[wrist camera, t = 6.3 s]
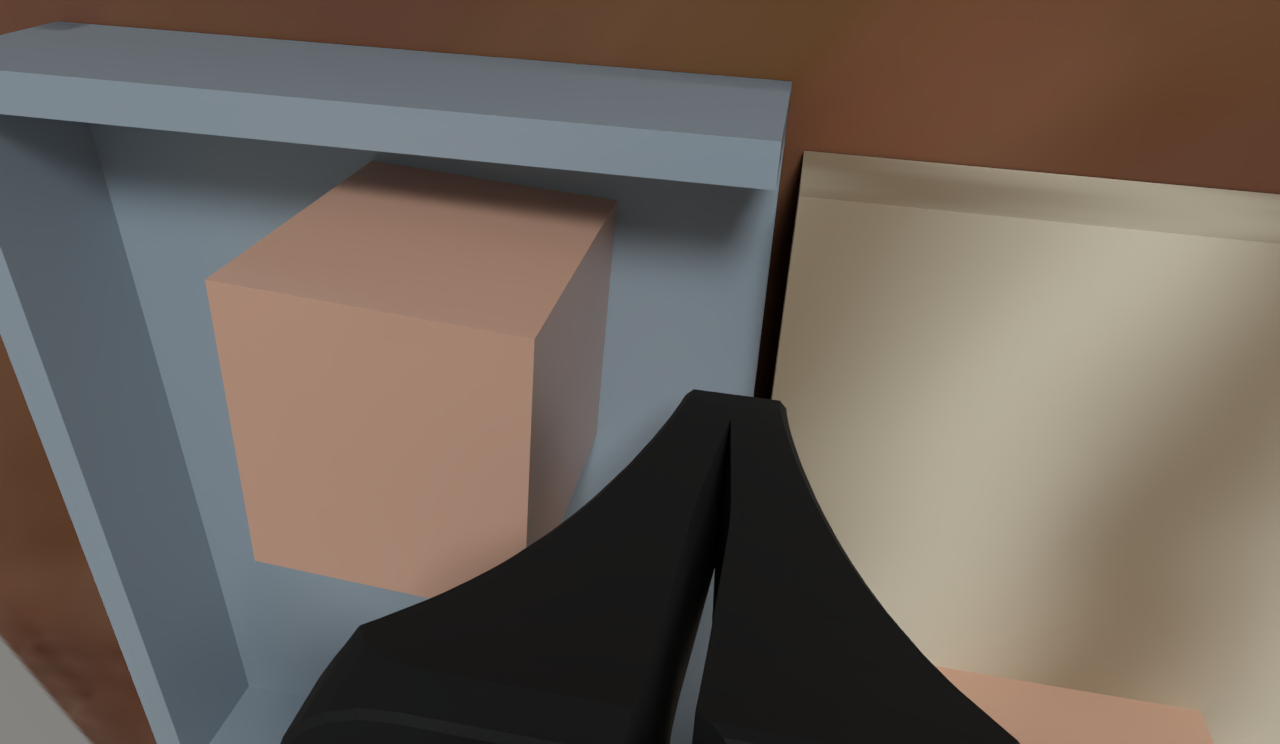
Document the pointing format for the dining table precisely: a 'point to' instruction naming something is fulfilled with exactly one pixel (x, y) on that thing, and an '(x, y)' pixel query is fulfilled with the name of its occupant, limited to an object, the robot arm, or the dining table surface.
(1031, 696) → the wooden cube
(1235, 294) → the board
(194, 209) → the tray
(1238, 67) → the dining table surface
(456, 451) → the wooden cube
